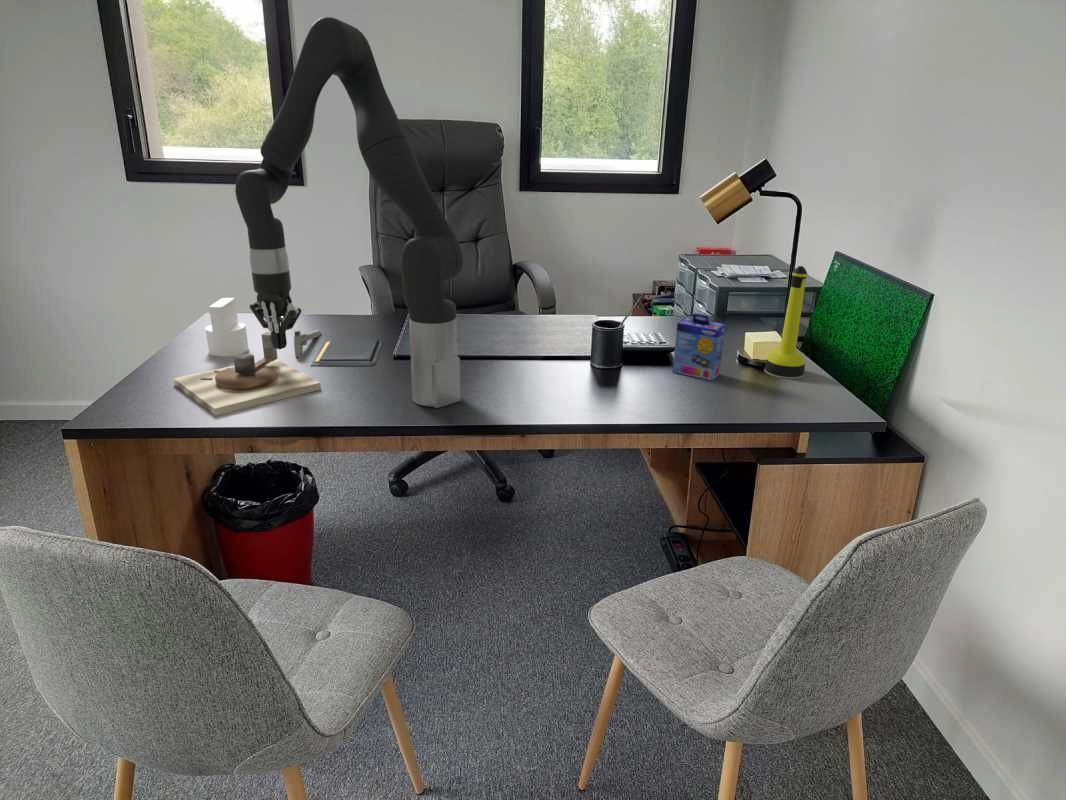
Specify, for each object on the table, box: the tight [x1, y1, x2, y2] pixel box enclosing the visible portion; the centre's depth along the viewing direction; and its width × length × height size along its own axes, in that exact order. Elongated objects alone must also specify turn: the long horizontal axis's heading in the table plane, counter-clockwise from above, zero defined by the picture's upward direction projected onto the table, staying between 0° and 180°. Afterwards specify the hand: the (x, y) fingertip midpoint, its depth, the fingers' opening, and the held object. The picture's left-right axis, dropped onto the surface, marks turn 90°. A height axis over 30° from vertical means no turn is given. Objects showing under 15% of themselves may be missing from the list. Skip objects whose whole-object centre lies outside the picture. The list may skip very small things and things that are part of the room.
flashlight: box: [763, 265, 808, 380], centre depth 164 cm, size 25×9×9 cm
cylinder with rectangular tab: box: [204, 297, 249, 358], centre depth 172 cm, size 9×9×12 cm
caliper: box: [293, 329, 322, 358], centre depth 179 cm, size 21×1×6 cm, turn 2°
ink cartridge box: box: [672, 312, 726, 381], centre depth 163 cm, size 10×6×14 cm, turn 59°
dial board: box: [173, 359, 322, 417], centre depth 151 cm, size 22×22×2 cm
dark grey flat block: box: [310, 338, 384, 368], centre depth 174 cm, size 20×2×15 cm
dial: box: [215, 331, 279, 389], centre depth 152 cm, size 17×12×7 cm
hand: (280, 347), depth 157 cm, fingers closed
